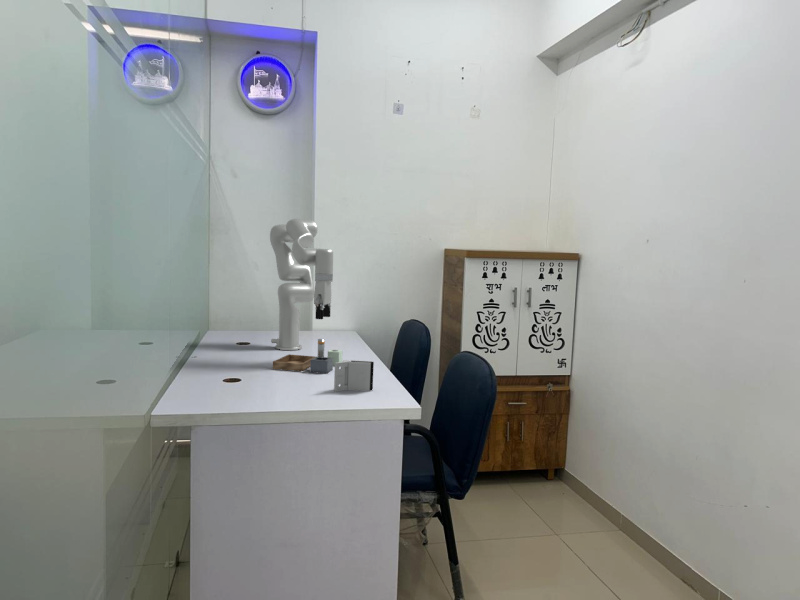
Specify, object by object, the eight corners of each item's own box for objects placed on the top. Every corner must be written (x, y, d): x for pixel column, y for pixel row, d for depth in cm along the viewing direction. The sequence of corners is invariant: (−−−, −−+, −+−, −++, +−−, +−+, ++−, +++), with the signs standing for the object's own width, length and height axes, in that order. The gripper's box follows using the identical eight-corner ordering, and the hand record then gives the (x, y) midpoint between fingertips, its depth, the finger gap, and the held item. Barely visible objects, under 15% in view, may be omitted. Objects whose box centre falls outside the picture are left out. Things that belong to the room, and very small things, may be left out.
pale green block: (327, 365, 238) (327, 351, 238) (331, 363, 243) (331, 349, 243) (338, 366, 237) (339, 351, 237) (342, 364, 242) (342, 349, 242)
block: (310, 372, 224) (310, 359, 223) (316, 368, 231) (316, 356, 230) (327, 373, 223) (327, 361, 222) (332, 370, 229) (333, 357, 229)
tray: (272, 369, 227) (272, 361, 226) (288, 361, 243) (288, 354, 243) (302, 371, 224) (302, 364, 224) (316, 363, 240) (316, 356, 240)
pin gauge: (316, 362, 242) (317, 339, 241) (318, 361, 245) (319, 338, 244) (322, 363, 242) (323, 340, 241) (324, 361, 245) (325, 339, 244)
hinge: (334, 391, 196) (334, 363, 195) (332, 387, 201) (333, 360, 200) (373, 391, 199) (374, 362, 198) (371, 387, 204) (372, 359, 203)
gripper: (321, 277, 250) (321, 315, 251) (308, 278, 233) (307, 319, 234) (338, 277, 249) (337, 316, 250) (325, 279, 232) (325, 320, 233)
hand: (323, 318), depth 242 cm, fingers open, 9 cm apart
